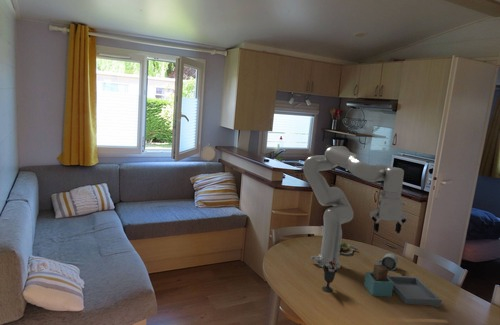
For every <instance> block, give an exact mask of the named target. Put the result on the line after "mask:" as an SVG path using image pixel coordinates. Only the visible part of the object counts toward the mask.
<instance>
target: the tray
mask: <svg viewBox="0 0 500 325" xmlns="http://www.w3.org/2000/svg"><path fill="white" fill-rule="evenodd" d="M387 276H388V277H389V278H390V279H391V280H392V282H393V283H394V285H393V291H394V293H395V294H396V296H398V298H399V299H401V301H402V303H404V304H405V305H426V306H427V305H429V306H432V307H434V308H440V307H441V305H442V299H441V298H440V297H439V296H438V295H437V294H436V293H435V292H433V290H431V288H430V287H428V286H427V285H426V284H425V283H424V282H423V281H422V280H420V279H419V277H417V276H406V275H404V276H403V275H387ZM393 291H392V292H393Z"/></svg>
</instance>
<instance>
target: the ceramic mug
mask: <svg viewBox="0 0 500 325" xmlns="http://www.w3.org/2000/svg"><path fill="white" fill-rule="evenodd" d="M398 263H399V260H398V257H397V256H396V254H394V253H386V254H385V255H383V257H382V258H381V259H379V260H377V261H375V265H384V266H385V267H386V268H387V269H388V272H392V271H394V270H395V269H396V268H397V266H398Z"/></svg>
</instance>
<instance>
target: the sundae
mask: <svg viewBox="0 0 500 325" xmlns="http://www.w3.org/2000/svg"><path fill="white" fill-rule="evenodd" d="M334 259H335V258H334ZM332 261H333V260H332ZM332 261H330V262H329V263H327V264H326V265H324V266H323V268H322V269H323V272H324V274H323V276H324V277H323V278H324V279H323V280H325V282H326V285H325V286H324V285H323V286H322V287H321V289H322V291H324V292H326V293H332V292H333V291H334V289H333V288H332V287H331V286H330V284H331V283H333V282H334V279H335V276H336V273H337V272H338V270H339V269H336V266H335V263H334V262H333V263H332Z"/></svg>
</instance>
